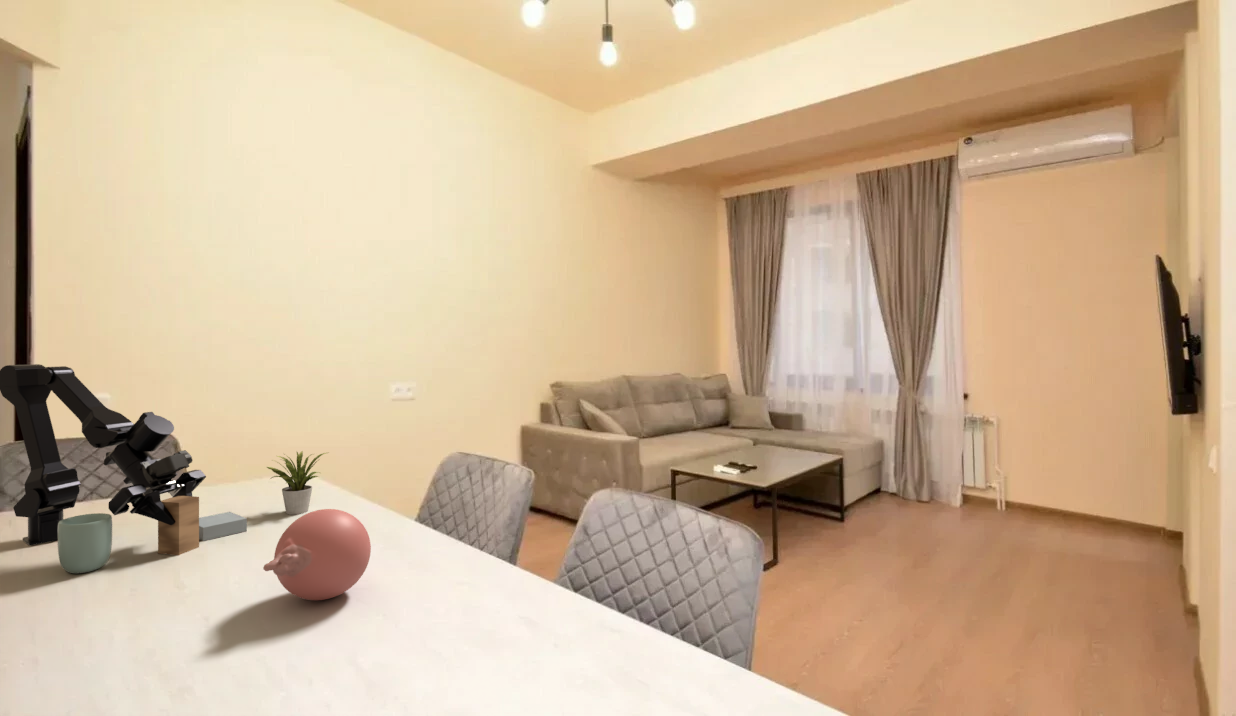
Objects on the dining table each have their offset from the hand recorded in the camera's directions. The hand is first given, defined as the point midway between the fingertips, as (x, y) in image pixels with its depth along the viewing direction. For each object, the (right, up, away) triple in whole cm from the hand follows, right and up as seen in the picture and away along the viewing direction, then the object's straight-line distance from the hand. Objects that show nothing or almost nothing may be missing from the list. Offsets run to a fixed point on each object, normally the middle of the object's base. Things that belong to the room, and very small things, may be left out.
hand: (184, 519), depth 128 cm
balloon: (+39, -8, -23) cm, 46 cm away
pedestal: (-1, -6, +13) cm, 14 cm away
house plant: (+8, -6, +31) cm, 33 cm away
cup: (-11, -7, -11) cm, 17 cm away
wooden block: (-1, -7, 0) cm, 7 cm away
